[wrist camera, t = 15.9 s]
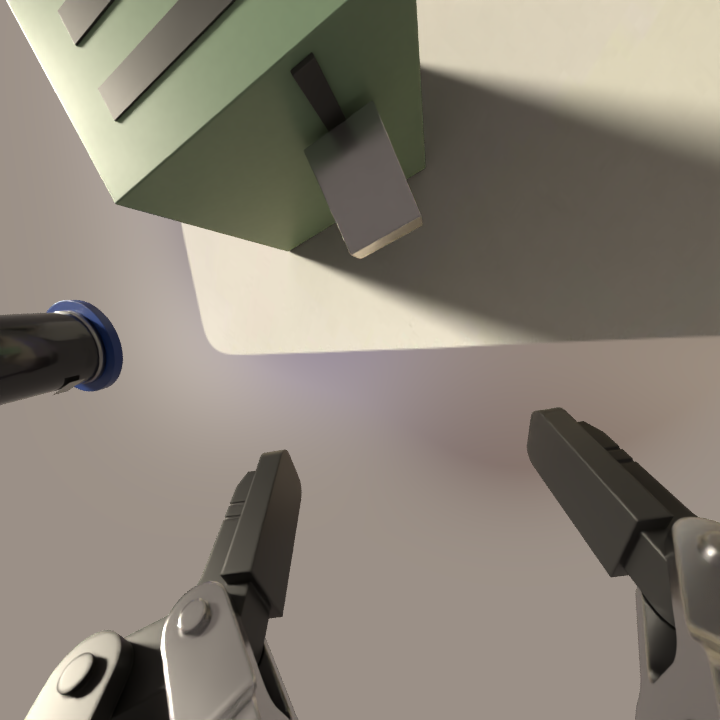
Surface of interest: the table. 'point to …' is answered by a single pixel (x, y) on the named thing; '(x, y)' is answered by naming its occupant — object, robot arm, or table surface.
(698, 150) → the table surface
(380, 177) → the toaster lever
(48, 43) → the toaster
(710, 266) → the table surface
